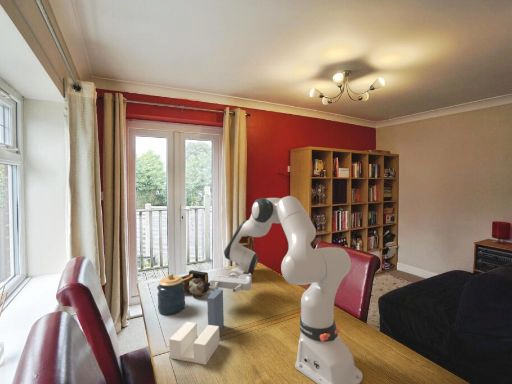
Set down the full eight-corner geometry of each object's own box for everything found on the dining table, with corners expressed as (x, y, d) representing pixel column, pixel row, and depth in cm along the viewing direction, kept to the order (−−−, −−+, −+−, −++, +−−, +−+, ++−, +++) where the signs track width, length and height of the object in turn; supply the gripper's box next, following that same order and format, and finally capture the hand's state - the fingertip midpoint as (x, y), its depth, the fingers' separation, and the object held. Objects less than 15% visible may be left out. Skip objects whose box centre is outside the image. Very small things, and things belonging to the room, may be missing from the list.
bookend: (191, 269, 164) (222, 272, 150) (192, 287, 164) (223, 292, 150) (171, 276, 152) (202, 280, 138) (173, 295, 152) (204, 301, 138)
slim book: (223, 325, 117) (222, 289, 116) (215, 337, 109) (214, 298, 108) (217, 324, 118) (216, 288, 117) (208, 336, 109) (207, 297, 109)
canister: (157, 305, 137) (156, 271, 136) (184, 301, 142) (182, 268, 141) (158, 317, 125) (156, 280, 124) (186, 312, 130) (185, 276, 129)
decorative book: (247, 283, 164) (246, 234, 162) (234, 282, 165) (233, 234, 164) (254, 270, 186) (253, 227, 184) (243, 270, 187) (242, 227, 186)
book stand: (219, 343, 104) (219, 326, 104) (205, 364, 93) (205, 344, 92) (187, 338, 108) (186, 321, 108) (170, 358, 97) (169, 339, 96)
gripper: (216, 270, 139) (204, 280, 126) (254, 273, 134) (245, 284, 120) (216, 282, 140) (204, 293, 126) (254, 286, 134) (245, 298, 121)
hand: (224, 289), depth 123 cm, fingers open, 8 cm apart
